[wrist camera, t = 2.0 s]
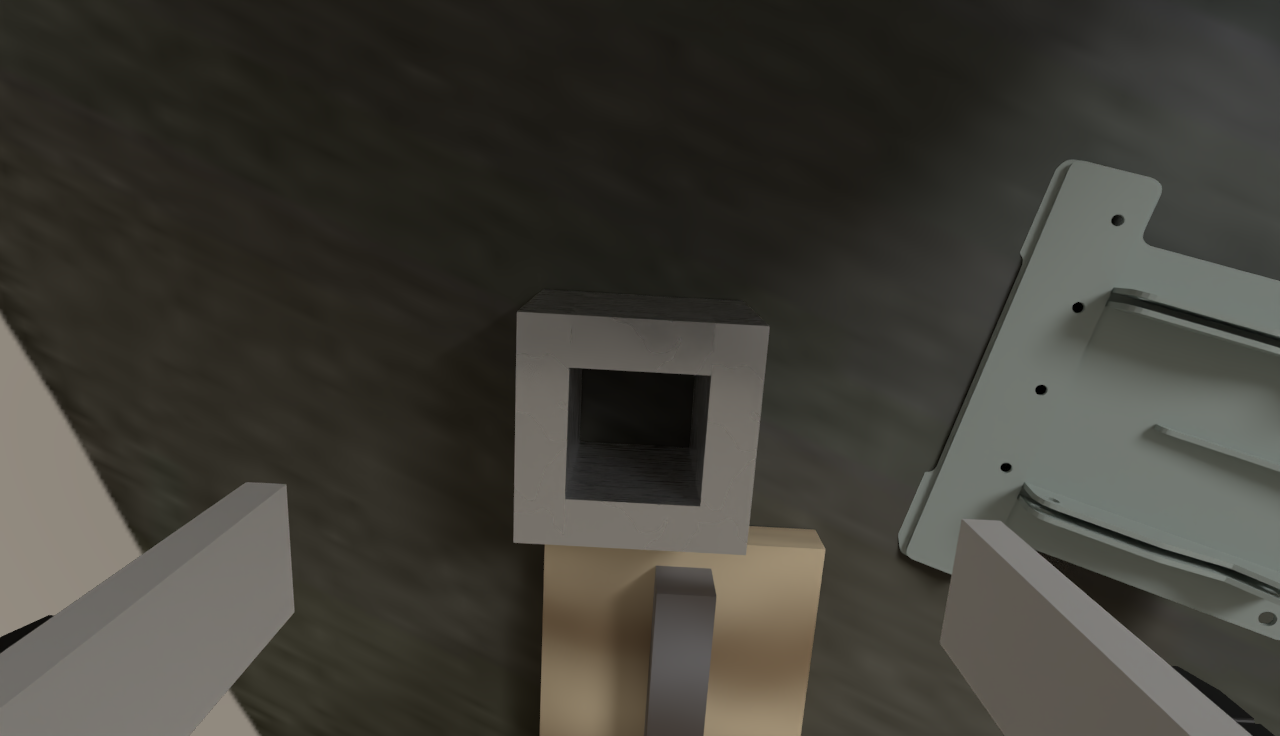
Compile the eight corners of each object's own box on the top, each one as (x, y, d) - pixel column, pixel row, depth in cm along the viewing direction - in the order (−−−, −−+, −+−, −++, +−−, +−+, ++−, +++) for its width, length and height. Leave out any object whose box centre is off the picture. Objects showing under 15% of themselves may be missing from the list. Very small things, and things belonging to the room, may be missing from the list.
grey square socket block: (542, 289, 24) (516, 311, 19) (743, 301, 24) (769, 326, 19) (538, 477, 25) (513, 542, 20) (725, 487, 25) (746, 555, 20)
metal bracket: (1613, 279, 18) (1324, 739, 21) (1430, 276, 24) (1223, 641, 27) (1045, 139, 21) (871, 560, 24) (1002, 165, 27) (864, 505, 30)
